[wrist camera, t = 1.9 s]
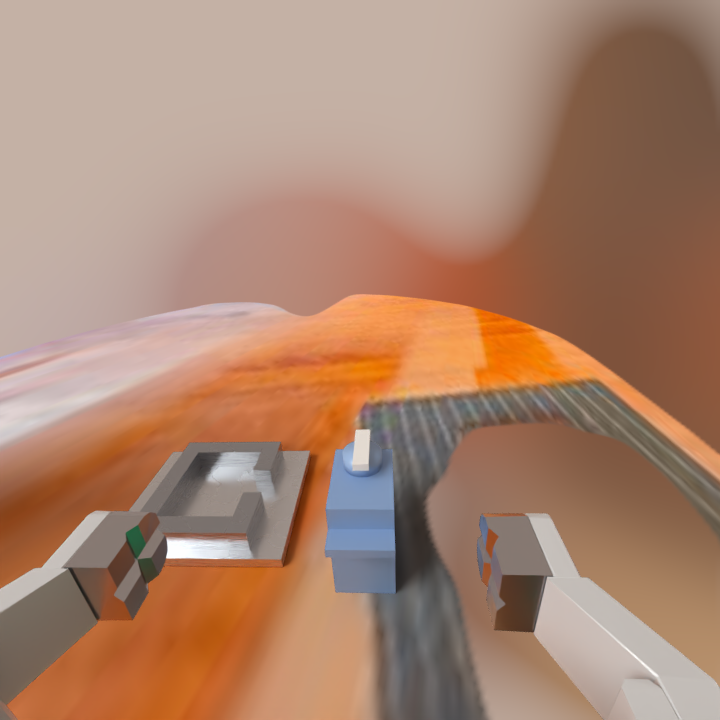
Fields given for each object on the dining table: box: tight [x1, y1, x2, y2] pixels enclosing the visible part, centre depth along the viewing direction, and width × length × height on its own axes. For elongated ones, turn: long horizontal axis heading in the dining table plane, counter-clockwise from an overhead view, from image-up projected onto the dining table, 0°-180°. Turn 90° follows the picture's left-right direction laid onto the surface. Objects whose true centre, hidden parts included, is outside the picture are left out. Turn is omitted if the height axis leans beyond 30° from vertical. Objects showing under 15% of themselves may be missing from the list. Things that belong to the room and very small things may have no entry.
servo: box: [325, 430, 396, 593], centre depth 26 cm, size 4×8×9 cm, turn 177°
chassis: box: [129, 442, 311, 567], centre depth 33 cm, size 14×12×2 cm
